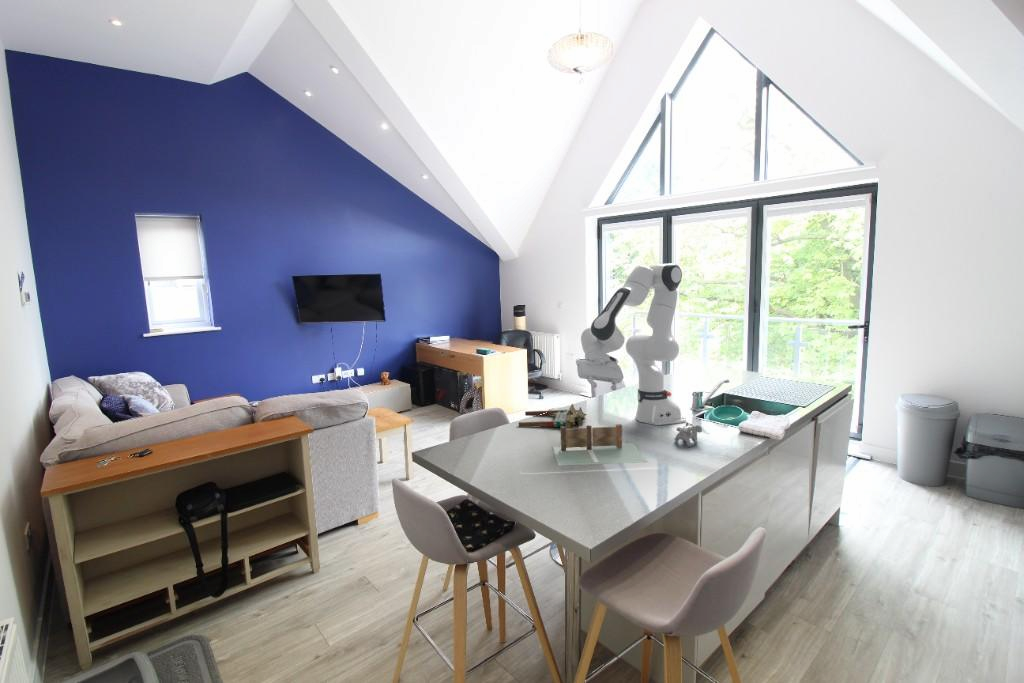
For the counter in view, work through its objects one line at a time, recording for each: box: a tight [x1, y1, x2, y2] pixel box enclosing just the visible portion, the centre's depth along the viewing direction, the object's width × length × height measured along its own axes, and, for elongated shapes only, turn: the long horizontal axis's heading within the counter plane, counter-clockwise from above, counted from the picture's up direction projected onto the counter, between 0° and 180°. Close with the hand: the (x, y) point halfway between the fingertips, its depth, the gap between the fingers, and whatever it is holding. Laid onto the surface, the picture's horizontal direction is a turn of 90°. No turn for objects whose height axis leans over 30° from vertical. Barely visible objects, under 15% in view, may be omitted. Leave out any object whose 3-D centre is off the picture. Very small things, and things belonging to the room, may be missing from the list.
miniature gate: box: [518, 403, 588, 429], centre depth 226 cm, size 27×6×30 cm
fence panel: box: [592, 423, 623, 448], centre depth 187 cm, size 11×2×9 cm, turn 92°
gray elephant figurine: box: [674, 421, 703, 448], centre depth 193 cm, size 9×12×8 cm
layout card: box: [554, 442, 648, 467], centre depth 183 cm, size 32×20×1 cm, turn 92°
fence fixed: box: [560, 425, 593, 451], centre depth 187 cm, size 12×2×9 cm, turn 92°
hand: (604, 388), depth 196 cm, fingers open, 8 cm apart
